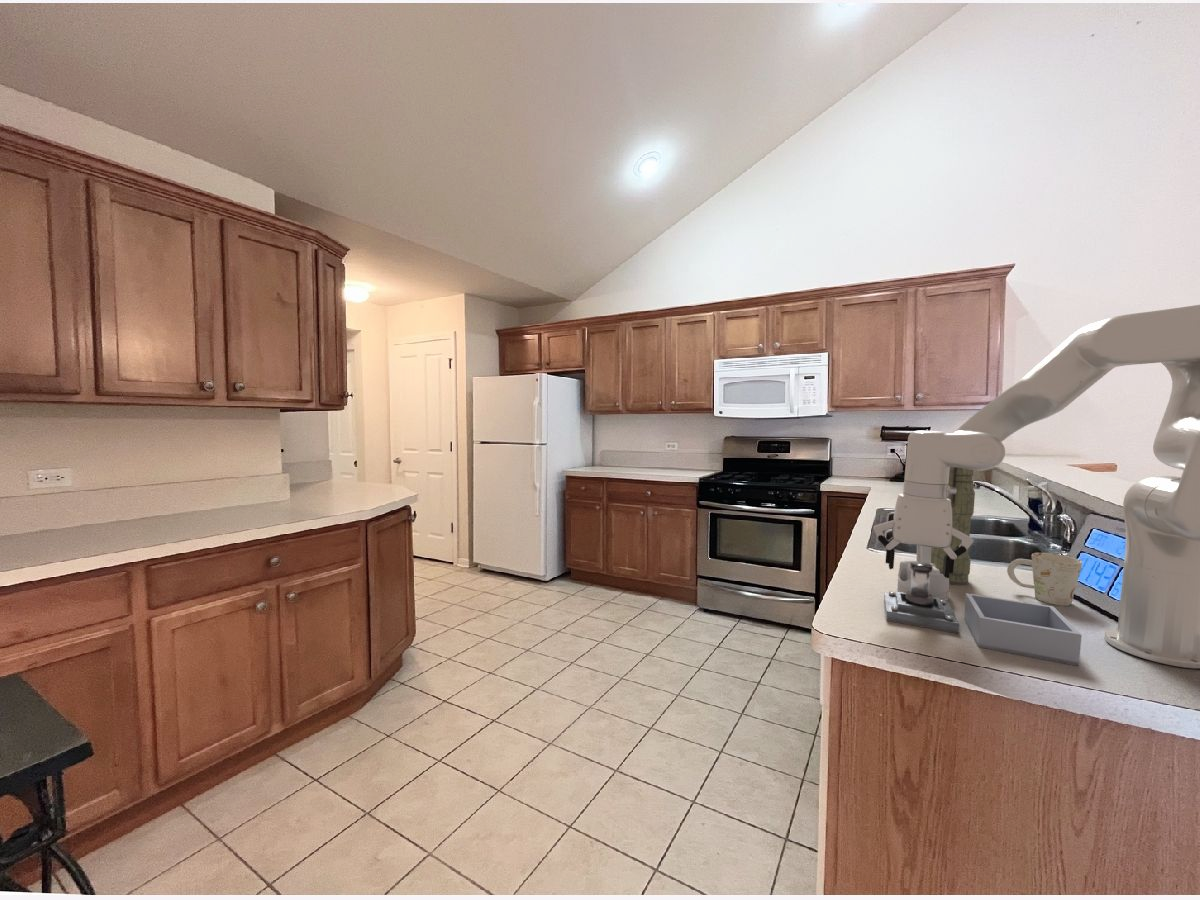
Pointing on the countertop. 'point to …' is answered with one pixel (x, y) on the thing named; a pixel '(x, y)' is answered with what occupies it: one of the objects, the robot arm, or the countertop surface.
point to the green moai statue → (958, 524)
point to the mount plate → (920, 613)
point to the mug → (1050, 577)
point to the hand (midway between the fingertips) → (917, 571)
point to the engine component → (937, 580)
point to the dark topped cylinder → (920, 585)
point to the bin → (1022, 629)
